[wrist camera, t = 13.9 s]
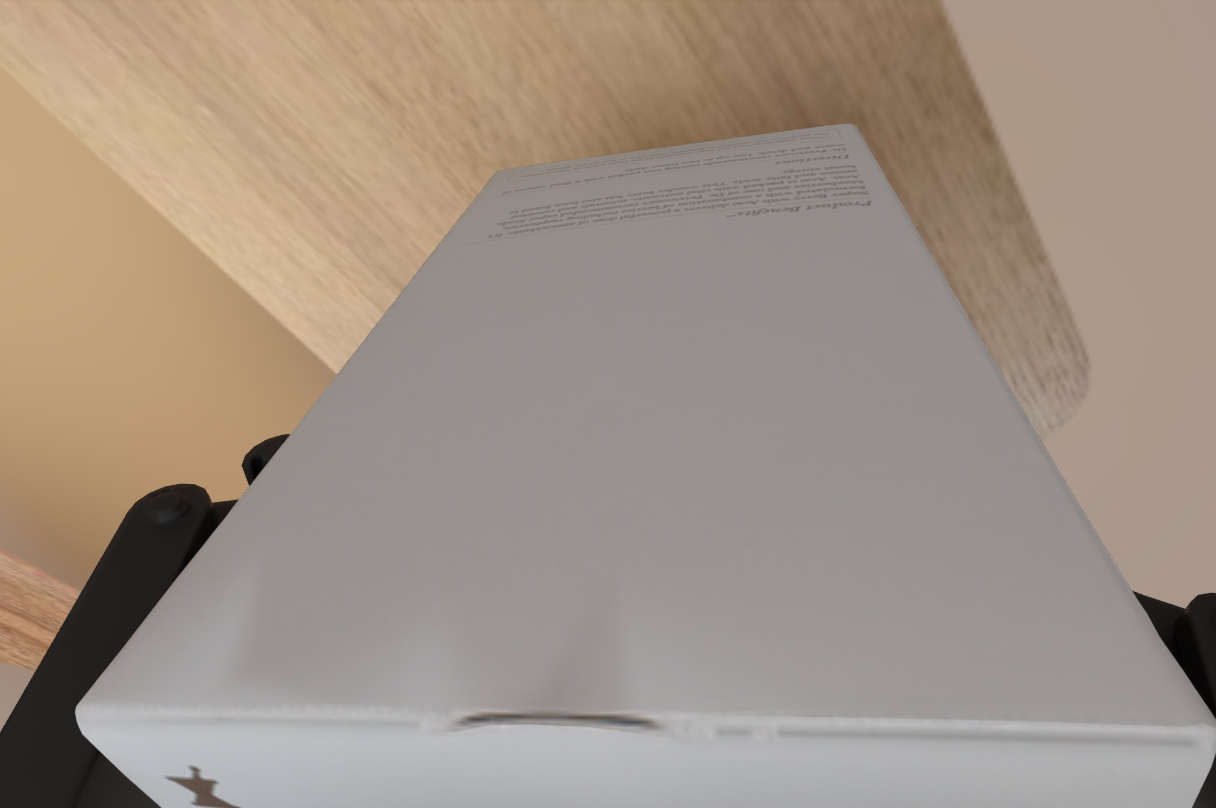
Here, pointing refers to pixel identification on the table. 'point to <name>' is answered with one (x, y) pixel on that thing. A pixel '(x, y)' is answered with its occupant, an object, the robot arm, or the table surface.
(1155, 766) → the rectangular carton
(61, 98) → the table surface
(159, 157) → the table surface
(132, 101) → the table surface
